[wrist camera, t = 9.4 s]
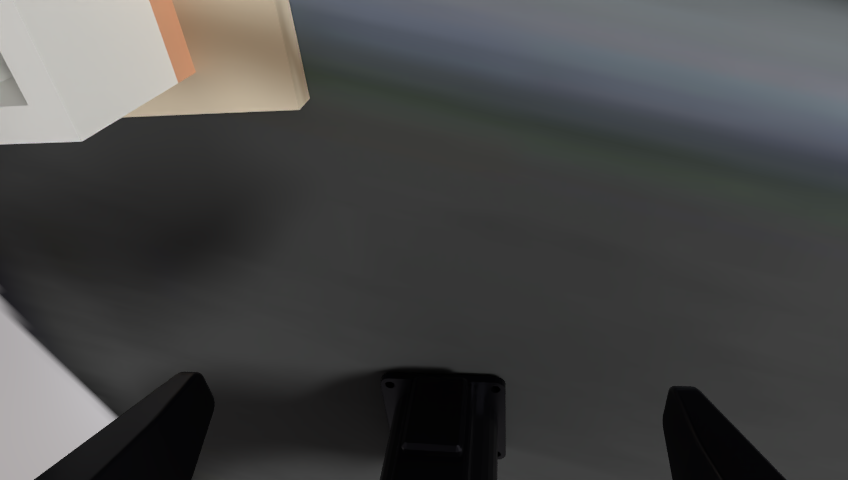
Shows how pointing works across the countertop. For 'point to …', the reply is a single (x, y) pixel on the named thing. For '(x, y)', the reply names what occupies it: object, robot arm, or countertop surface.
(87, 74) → the banded sleeve
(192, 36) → the pin board
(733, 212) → the countertop surface
